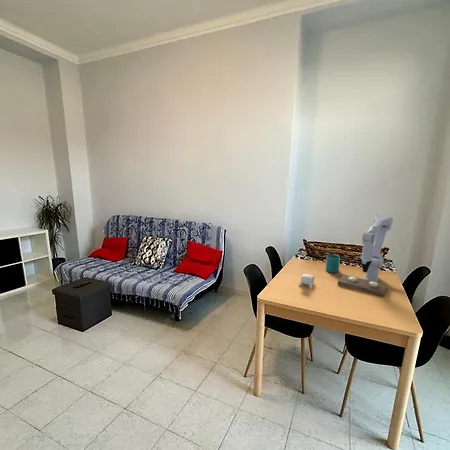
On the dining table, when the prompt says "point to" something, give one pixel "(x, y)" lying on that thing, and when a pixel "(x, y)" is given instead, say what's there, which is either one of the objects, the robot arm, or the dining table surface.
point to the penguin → (307, 280)
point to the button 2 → (373, 284)
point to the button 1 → (352, 279)
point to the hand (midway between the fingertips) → (364, 271)
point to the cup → (332, 263)
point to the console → (363, 286)
